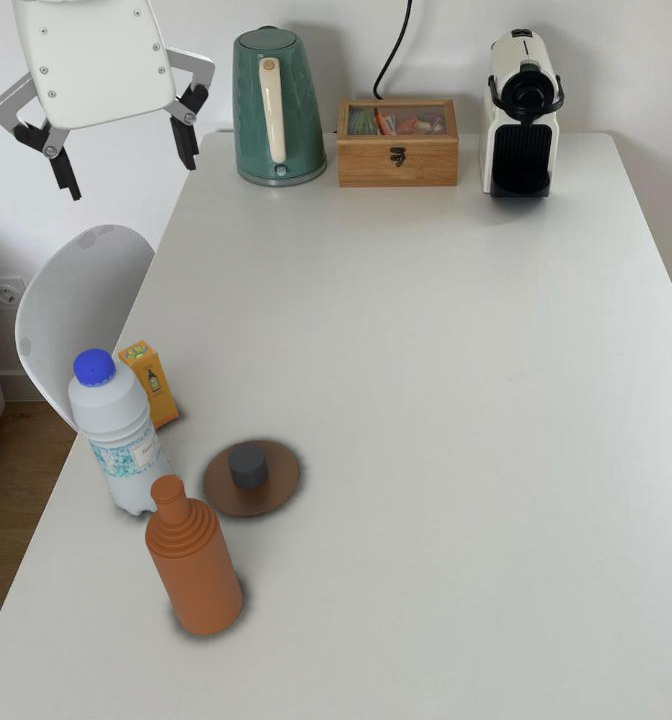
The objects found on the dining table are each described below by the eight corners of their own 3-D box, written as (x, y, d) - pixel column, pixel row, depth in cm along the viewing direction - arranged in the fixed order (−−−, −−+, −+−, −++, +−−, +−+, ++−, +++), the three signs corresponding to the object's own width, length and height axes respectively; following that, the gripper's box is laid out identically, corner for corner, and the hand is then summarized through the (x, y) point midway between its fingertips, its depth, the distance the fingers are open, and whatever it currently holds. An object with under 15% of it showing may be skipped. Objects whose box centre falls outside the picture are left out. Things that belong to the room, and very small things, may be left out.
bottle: (165, 526, 82) (109, 385, 68) (103, 519, 83) (36, 378, 69) (189, 474, 86) (141, 333, 73) (130, 468, 87) (71, 327, 74)
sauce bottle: (189, 647, 72) (138, 530, 60) (169, 595, 76) (117, 476, 64) (252, 615, 74) (215, 497, 62) (229, 566, 78) (190, 446, 66)
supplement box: (166, 401, 95) (144, 336, 88) (180, 417, 93) (159, 352, 86) (140, 415, 93) (116, 350, 86) (154, 431, 91) (130, 367, 84)
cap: (262, 457, 87) (258, 439, 85) (272, 482, 85) (268, 464, 83) (228, 468, 86) (223, 451, 84) (237, 494, 84) (232, 476, 82)
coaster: (221, 533, 81) (220, 529, 80) (192, 465, 87) (190, 462, 87) (313, 493, 84) (313, 489, 84) (278, 431, 91) (277, 427, 90)
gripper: (176, -69, 63) (217, 136, 74) (-64, -30, 57) (20, 184, 69) (204, -44, 58) (243, 171, 69) (-56, 1, 52) (34, 227, 64)
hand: (132, 178), depth 69 cm, fingers open, 9 cm apart
